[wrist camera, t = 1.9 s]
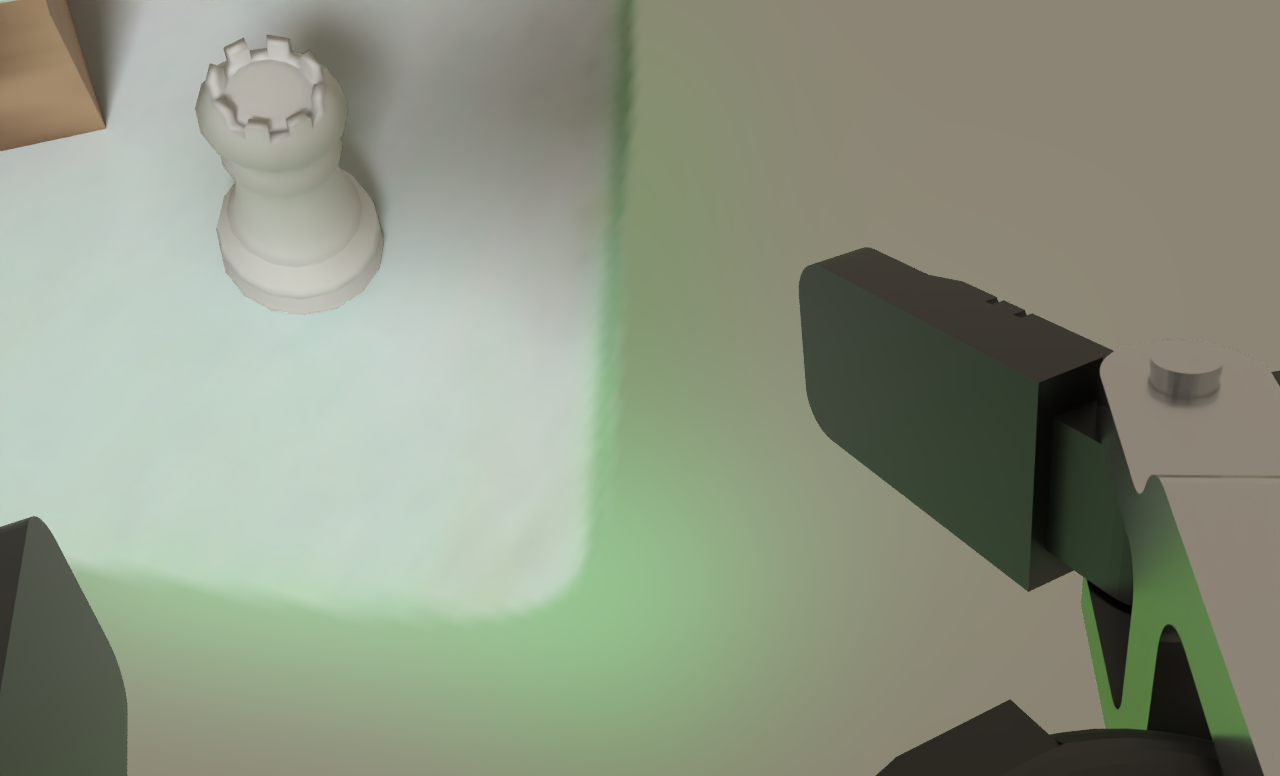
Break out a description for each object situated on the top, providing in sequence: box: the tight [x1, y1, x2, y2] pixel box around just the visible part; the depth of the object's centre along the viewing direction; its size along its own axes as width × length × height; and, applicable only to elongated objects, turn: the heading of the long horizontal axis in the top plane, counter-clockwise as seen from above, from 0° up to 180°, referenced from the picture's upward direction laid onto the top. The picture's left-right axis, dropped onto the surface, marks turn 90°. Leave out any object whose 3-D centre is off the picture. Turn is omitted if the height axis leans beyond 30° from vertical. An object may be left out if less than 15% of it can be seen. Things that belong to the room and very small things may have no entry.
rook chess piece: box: [195, 35, 384, 315], centre depth 26 cm, size 4×4×8 cm
